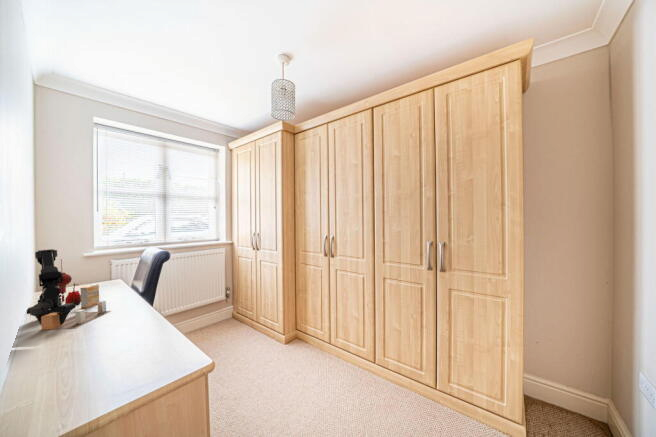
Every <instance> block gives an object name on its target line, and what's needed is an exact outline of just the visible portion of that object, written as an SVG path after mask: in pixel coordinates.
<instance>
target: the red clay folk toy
mask: <svg viewBox="0 0 656 437" xmlns="http://www.w3.org/2000/svg"><path fill="white" fill-rule="evenodd" d="M72 285H73V288H72V291H69V292H68V293H67V295H66V297H65V298H64V302H65V304H67V303H74V304H75V306H77V305H79V304H81V292H80V291H79V290H75V287H76V286H79V284H78V283H77V284H76V282H74V283H72Z"/></svg>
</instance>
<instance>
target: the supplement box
mask: <svg viewBox="0 0 656 437" xmlns="http://www.w3.org/2000/svg"><path fill="white" fill-rule="evenodd" d="M99 286H100V284H97V283H96V284H95V283H94V284H89V285H86V286H83V287H80V295H81V302H80V308H81V309H89V308H91V307H93V306H94V307H95V306H97V305H98V302H100V287H99Z"/></svg>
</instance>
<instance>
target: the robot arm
mask: <svg viewBox="0 0 656 437" xmlns="http://www.w3.org/2000/svg"><path fill="white" fill-rule="evenodd" d="M34 257H35V260H37V263H38V264H39V265H40V266H41V269H40V273H38V283H39V284H38V285H39V287H41V288H42V290H41V291H42V293H41V294H40V295H39V298H38V300H37V303H36V304H34V305H33V306H29V307H28V308H27V309H26V315H29V316H33V317H35V318H36V319H37V321H38V322H39V324H40V325H41V327H42V324H41V317H42V316H45V315H47V314H50V313H57V314H58V315H59V319H60V325H62V324H63V323H64V321H65V319H67V317H68V316H69V314H70V313H71V311H73V310H74V309H76V305H75V304H74V303H67V304H63V302H62V294H61V293H60V292H61V291H60V289H59V285H58V284H59V283H62V281H63V276H62V273H63V272H61V271H60V270H59V268H58V267H57V266H55V261H56V257H58V250H57V249H53V248H51V249H40V250H38V251H35V252H34ZM59 280H60V281H59Z"/></svg>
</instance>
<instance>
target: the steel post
mask: <svg viewBox="0 0 656 437" xmlns="http://www.w3.org/2000/svg"><path fill="white" fill-rule="evenodd" d="M106 302H107V300H99V302H98V304H97V312H98V313H104V312H106V311H107V303H106Z"/></svg>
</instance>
